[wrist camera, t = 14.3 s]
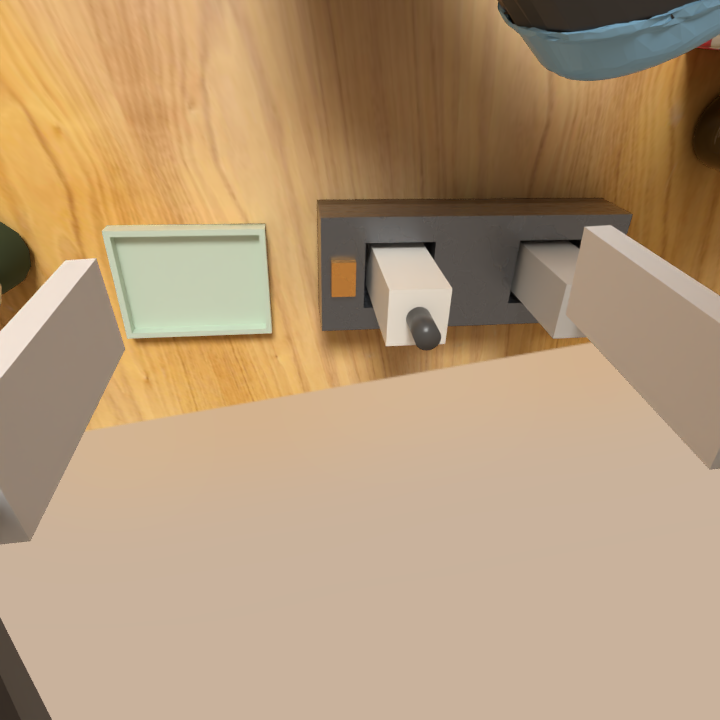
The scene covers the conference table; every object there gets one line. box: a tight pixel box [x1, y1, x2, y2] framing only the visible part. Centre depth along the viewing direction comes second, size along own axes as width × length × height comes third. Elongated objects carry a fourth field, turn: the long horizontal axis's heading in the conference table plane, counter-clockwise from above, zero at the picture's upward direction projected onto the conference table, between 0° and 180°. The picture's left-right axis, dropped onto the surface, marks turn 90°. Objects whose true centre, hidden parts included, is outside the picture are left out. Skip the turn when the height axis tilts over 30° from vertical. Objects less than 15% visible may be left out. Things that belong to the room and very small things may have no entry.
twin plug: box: [511, 240, 586, 339], centre depth 43 cm, size 4×4×14 cm
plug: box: [366, 242, 452, 350], centre depth 41 cm, size 4×4×14 cm
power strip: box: [317, 198, 633, 331], centre depth 47 cm, size 10×26×6 cm, turn 88°
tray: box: [102, 224, 272, 339], centre depth 47 cm, size 10×13×2 cm
